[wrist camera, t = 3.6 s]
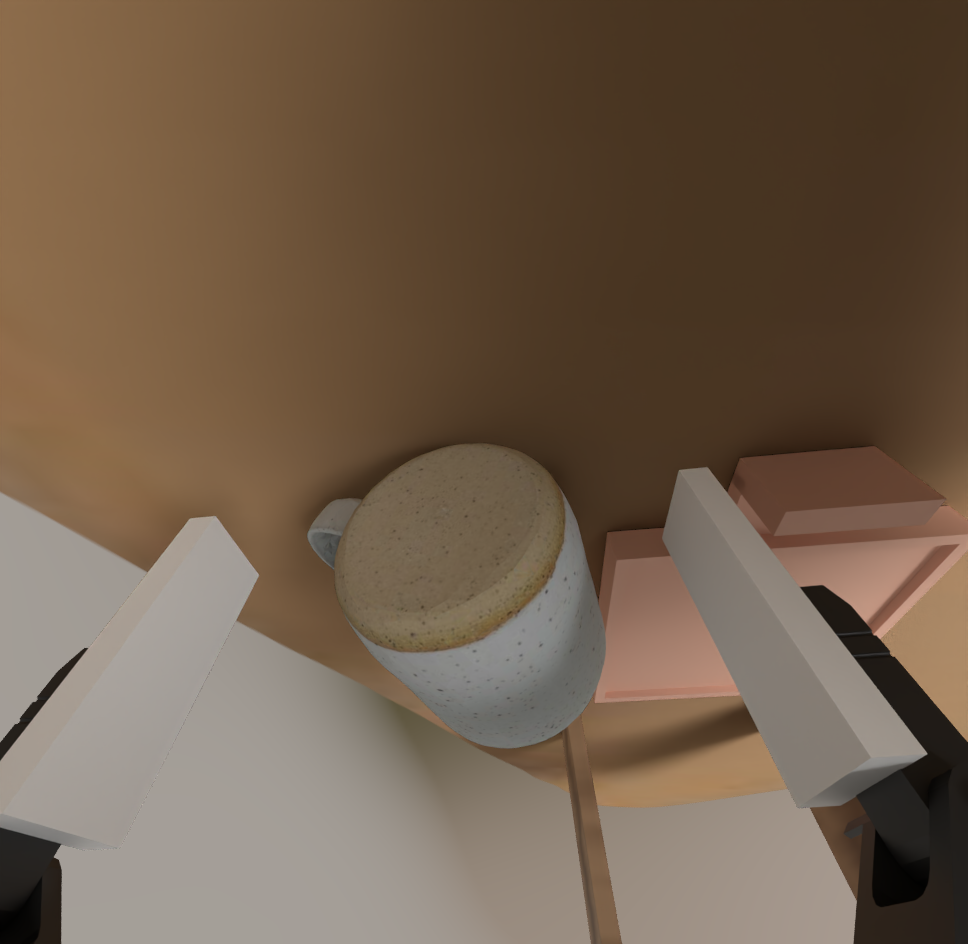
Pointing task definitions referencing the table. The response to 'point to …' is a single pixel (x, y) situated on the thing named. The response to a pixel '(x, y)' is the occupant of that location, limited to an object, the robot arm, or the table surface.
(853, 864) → the shelf
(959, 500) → the table surface
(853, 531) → the tray
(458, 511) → the ceramic mug
